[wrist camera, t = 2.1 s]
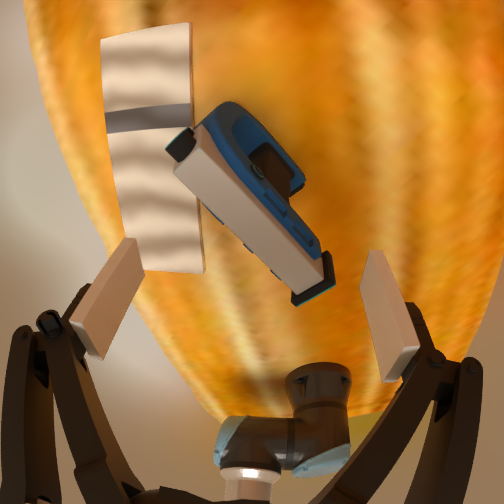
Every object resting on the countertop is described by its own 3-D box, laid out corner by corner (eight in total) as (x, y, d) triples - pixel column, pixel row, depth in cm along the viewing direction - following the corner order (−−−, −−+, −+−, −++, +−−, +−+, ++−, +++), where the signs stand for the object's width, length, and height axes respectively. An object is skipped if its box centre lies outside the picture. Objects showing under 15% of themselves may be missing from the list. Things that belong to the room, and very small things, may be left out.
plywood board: (205, 269, 47) (203, 274, 46) (136, 264, 48) (134, 269, 47) (191, 23, 27) (188, 21, 26) (105, 39, 28) (100, 39, 26)
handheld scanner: (289, 208, 40) (299, 313, 24) (206, 118, 34) (145, 165, 18) (316, 189, 38) (347, 286, 22) (234, 94, 32) (194, 115, 16)
